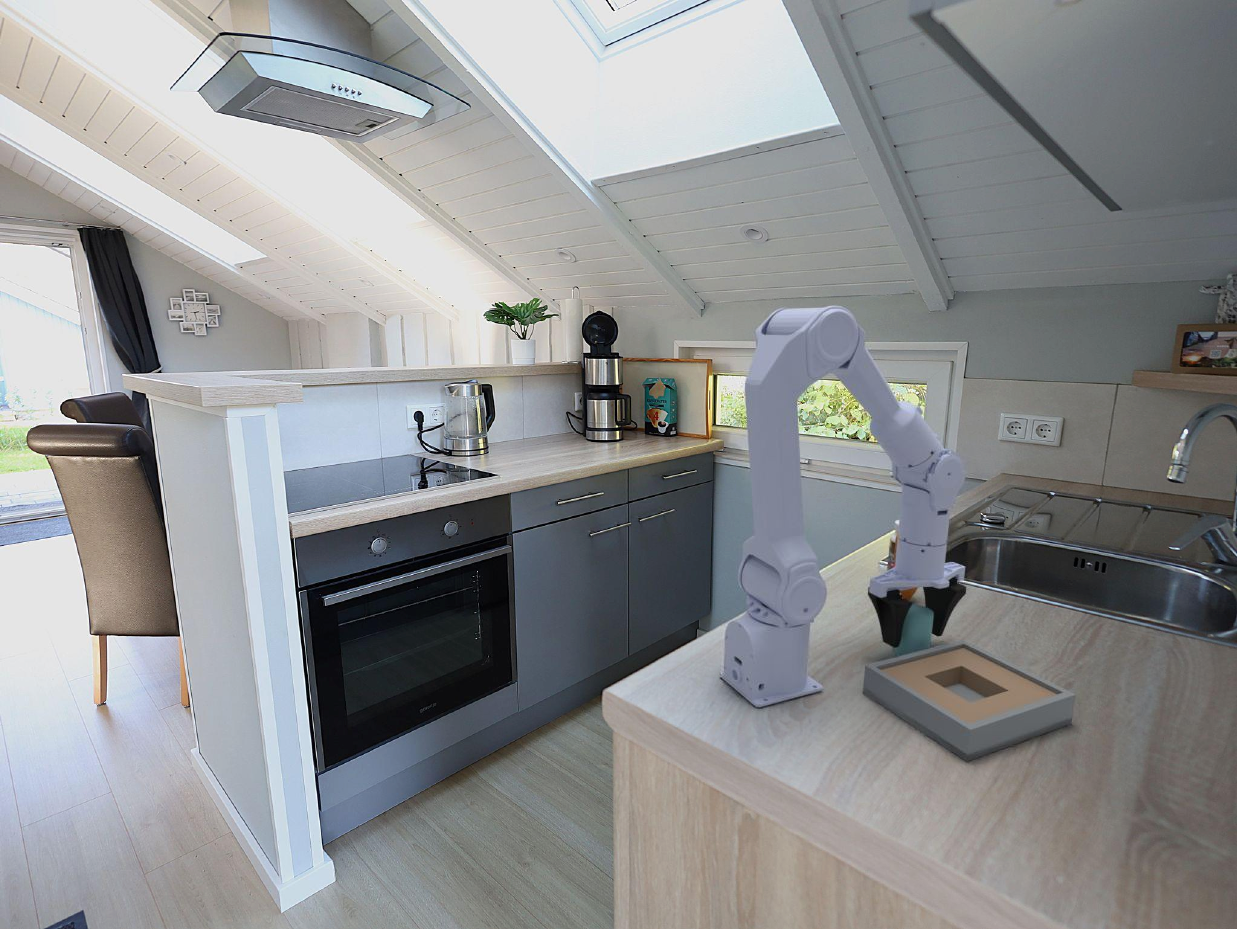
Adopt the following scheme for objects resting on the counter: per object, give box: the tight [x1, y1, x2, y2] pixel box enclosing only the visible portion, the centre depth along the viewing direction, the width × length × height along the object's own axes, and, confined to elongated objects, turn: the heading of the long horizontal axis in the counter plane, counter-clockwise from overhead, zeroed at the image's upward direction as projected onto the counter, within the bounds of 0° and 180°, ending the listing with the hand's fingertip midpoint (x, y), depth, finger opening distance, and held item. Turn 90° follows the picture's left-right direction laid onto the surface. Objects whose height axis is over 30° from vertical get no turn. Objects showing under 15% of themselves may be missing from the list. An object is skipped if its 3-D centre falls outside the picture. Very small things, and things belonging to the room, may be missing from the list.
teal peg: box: [892, 603, 934, 657], centre depth 88 cm, size 4×4×6 cm
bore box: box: [862, 639, 1077, 763], centre depth 75 cm, size 16×14×4 cm
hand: (912, 638), depth 88 cm, fingers open, 7 cm apart
